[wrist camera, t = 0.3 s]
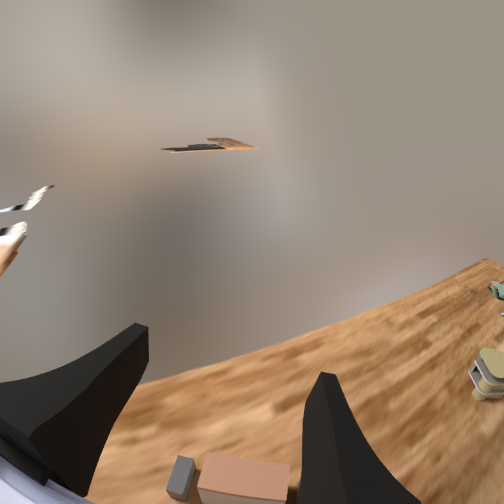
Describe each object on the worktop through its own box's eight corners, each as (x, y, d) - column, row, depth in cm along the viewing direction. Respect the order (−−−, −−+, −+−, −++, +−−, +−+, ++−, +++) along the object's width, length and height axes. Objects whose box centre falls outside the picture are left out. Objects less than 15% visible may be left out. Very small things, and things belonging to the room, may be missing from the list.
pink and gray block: (277, 514, 21) (286, 500, 18) (202, 503, 22) (196, 486, 19) (282, 484, 24) (290, 464, 21) (210, 474, 25) (206, 452, 22)
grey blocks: (310, 518, 20) (316, 512, 19) (170, 497, 22) (165, 489, 20) (313, 484, 24) (318, 475, 23) (181, 464, 25) (177, 455, 24)
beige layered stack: (499, 370, 35) (515, 344, 33) (511, 412, 27) (532, 387, 25) (451, 365, 38) (466, 338, 35) (459, 412, 30) (479, 385, 27)
